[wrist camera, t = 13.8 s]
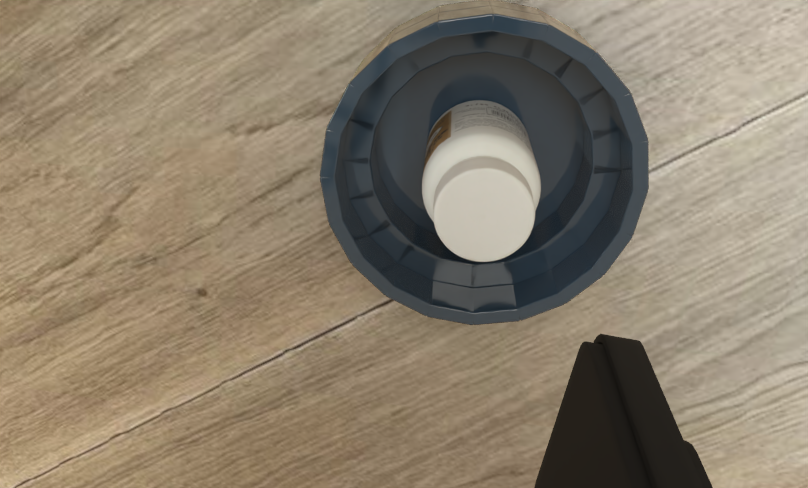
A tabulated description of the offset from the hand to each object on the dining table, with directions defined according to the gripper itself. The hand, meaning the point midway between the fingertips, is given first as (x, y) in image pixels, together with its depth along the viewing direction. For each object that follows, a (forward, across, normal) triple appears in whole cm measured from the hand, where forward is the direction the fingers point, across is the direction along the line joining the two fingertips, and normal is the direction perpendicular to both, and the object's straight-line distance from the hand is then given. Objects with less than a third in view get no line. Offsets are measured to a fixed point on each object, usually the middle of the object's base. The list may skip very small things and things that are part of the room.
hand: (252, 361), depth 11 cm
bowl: (+23, -5, +3) cm, 23 cm away
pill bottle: (+22, -5, +3) cm, 23 cm away
